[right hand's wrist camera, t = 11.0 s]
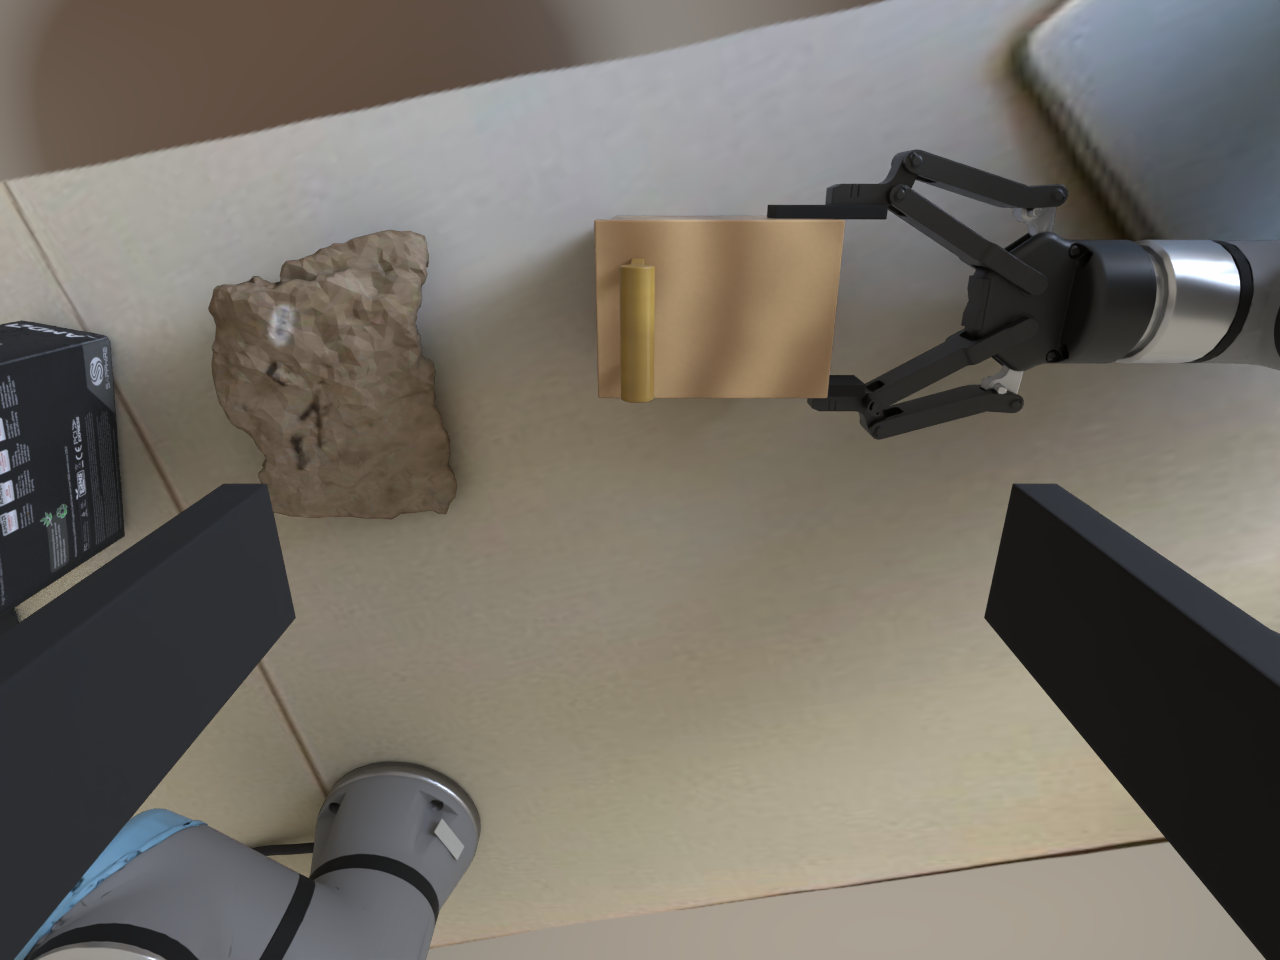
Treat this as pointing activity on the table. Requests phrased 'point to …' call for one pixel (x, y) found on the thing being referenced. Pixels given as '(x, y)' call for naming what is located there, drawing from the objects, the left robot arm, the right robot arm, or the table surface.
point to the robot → (8, 621)
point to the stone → (337, 381)
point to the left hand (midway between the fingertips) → (765, 302)
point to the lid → (716, 307)
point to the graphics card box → (55, 456)
